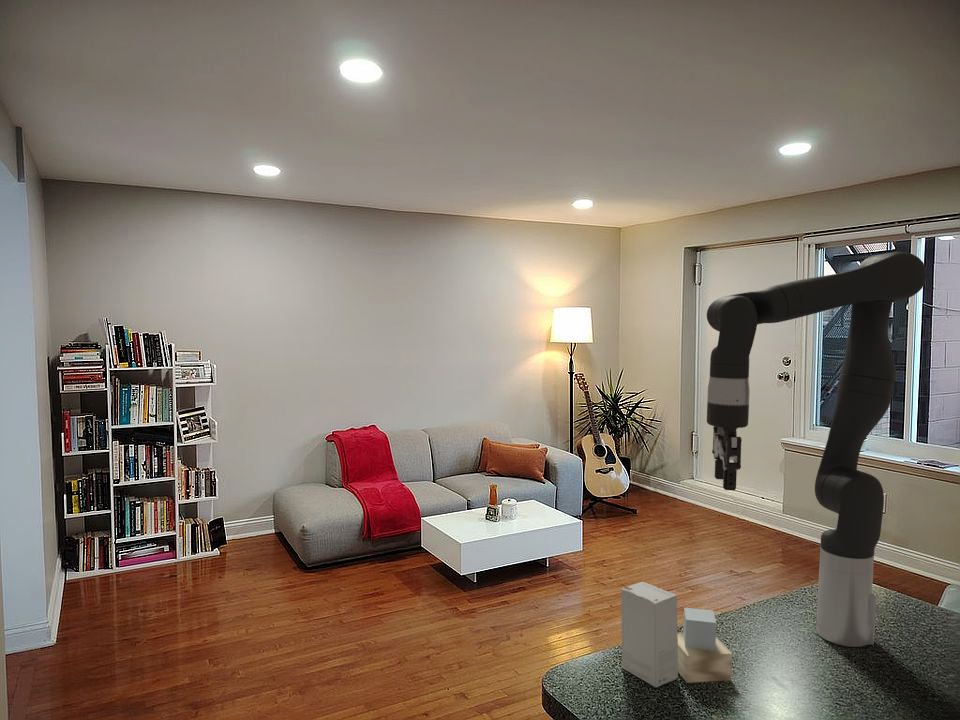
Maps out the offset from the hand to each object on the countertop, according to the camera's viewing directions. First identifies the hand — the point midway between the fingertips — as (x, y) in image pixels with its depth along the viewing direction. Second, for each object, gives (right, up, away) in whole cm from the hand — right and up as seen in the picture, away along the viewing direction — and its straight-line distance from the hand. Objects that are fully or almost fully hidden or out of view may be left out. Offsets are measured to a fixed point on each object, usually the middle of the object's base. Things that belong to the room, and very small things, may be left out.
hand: (724, 484), depth 130 cm
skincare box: (-18, -31, -12) cm, 38 cm away
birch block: (-8, -31, -11) cm, 34 cm away
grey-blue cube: (-8, -26, -11) cm, 29 cm away
